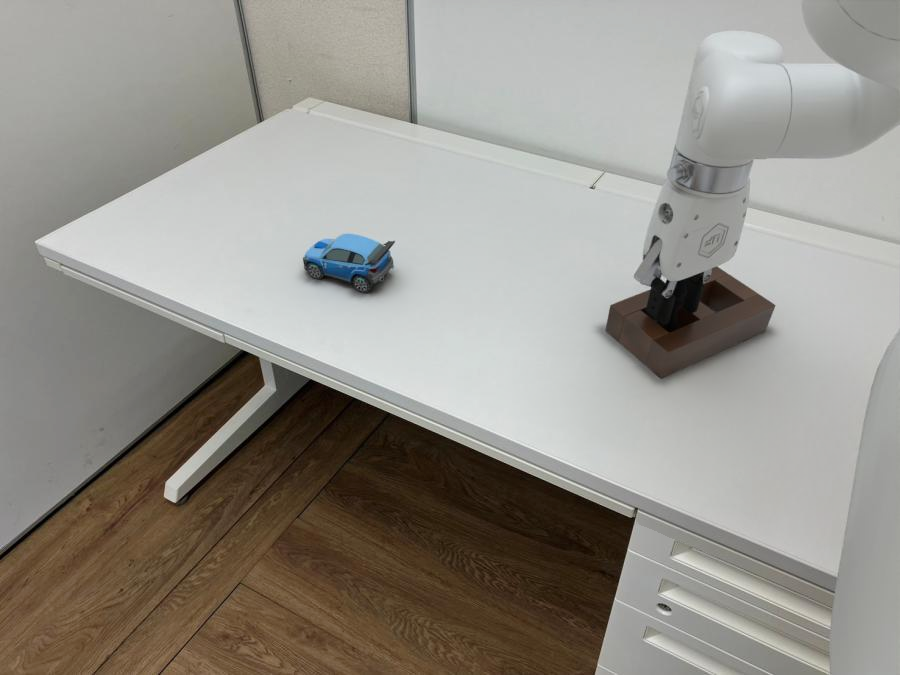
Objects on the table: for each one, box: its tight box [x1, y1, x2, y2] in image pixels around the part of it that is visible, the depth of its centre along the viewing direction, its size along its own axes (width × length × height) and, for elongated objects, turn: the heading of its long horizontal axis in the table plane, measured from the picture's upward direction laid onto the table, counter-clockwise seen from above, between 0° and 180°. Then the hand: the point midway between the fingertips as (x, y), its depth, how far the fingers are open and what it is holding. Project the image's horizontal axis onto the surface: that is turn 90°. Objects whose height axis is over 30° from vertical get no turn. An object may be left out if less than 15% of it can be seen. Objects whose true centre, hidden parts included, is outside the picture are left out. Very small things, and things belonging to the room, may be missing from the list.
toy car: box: [302, 232, 396, 293], centre depth 92 cm, size 6×12×6 cm, turn 67°
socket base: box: [605, 266, 776, 380], centre depth 84 cm, size 10×17×4 cm, turn 120°
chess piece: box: [657, 279, 687, 333], centre depth 81 cm, size 4×4×10 cm
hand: (671, 310), depth 81 cm, fingers open, 3 cm apart
